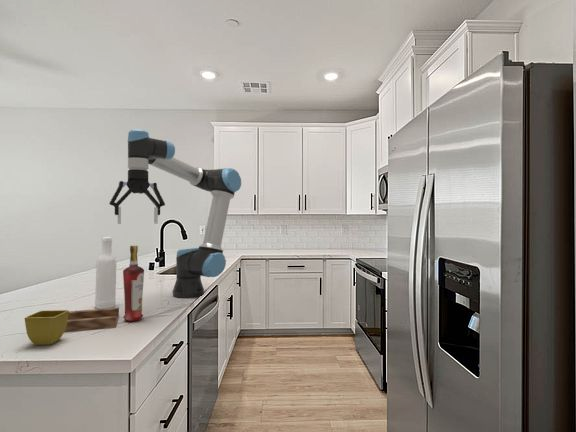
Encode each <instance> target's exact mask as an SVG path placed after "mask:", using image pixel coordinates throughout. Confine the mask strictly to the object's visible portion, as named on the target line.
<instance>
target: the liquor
mask: <svg viewBox="0 0 576 432" xmlns="http://www.w3.org/2000/svg"><path fill="white" fill-rule="evenodd" d="M138 247H139V246H138V245H130V246H129V251H130V252H129V253H130V258H129V265H128V267H125V269H123V270H122V273H123V274H122V277H123V278H122V279H123V281H122V282H123V293H124V295H123V297H124V298H123V300H124V316H123V319H124V320H125V321H126V322H130V323H133V322H134V323H136V322H138V321H140V320H141V319H142V318H143V317H144V314H143V295H144V294H143V293H144V282H145V280H144V279H145V278H144V277H145V269H144V268H143V267H141V266H139V263H138V262H139V261H138V250H139V249H138Z"/></svg>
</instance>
